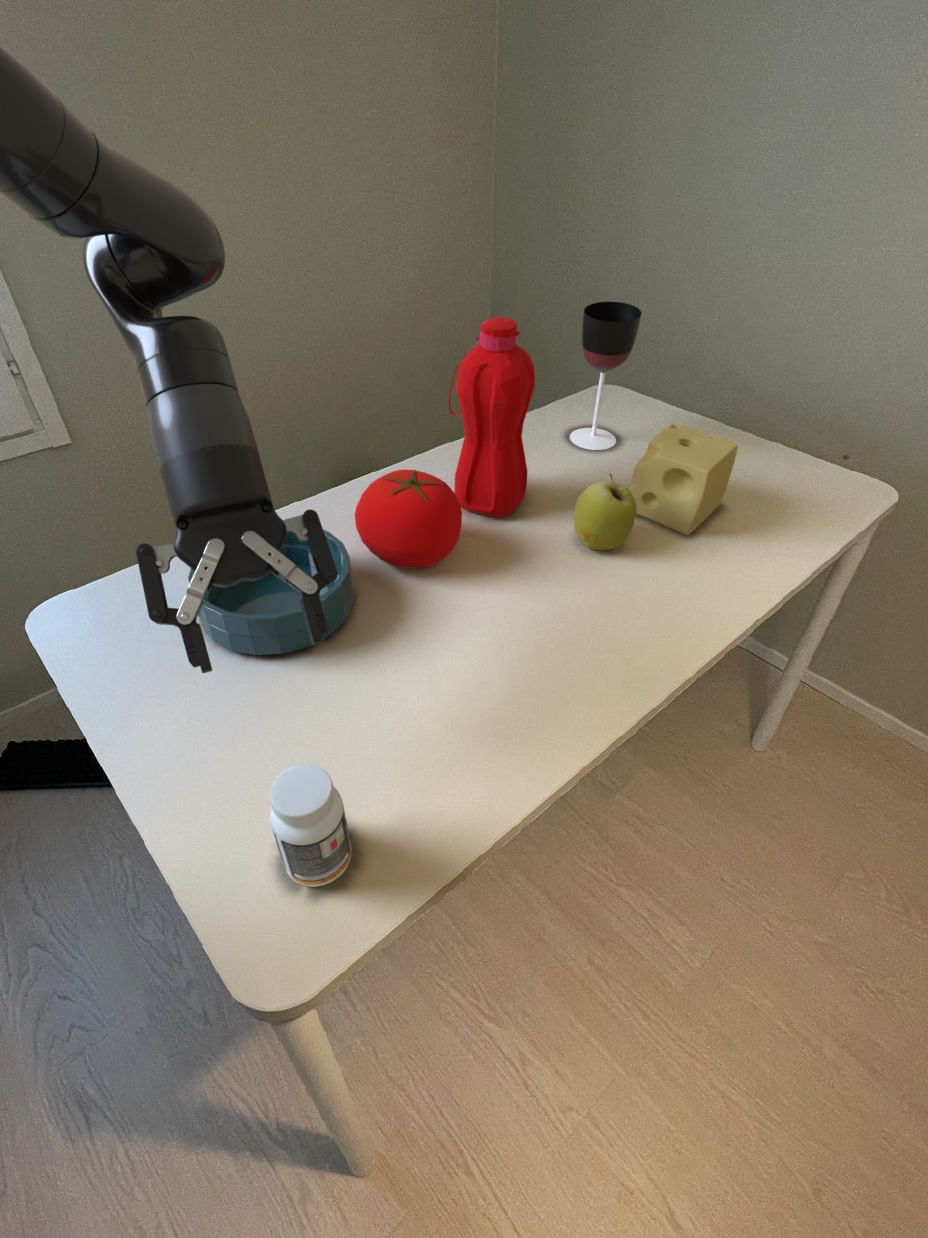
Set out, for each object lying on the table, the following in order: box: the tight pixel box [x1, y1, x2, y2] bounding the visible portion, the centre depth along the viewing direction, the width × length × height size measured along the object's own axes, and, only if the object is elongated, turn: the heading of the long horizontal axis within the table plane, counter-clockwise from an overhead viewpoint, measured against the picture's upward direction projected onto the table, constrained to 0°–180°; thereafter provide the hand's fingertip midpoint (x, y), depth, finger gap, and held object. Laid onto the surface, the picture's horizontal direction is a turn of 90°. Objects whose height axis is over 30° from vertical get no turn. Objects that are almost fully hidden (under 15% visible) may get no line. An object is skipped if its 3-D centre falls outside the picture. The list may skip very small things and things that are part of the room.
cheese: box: [627, 422, 739, 536], centre depth 96 cm, size 10×11×10 cm
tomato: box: [354, 469, 463, 569], centre depth 87 cm, size 12×13×11 cm
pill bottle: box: [269, 763, 353, 888], centre depth 56 cm, size 6×6×10 cm
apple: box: [573, 473, 637, 551], centre depth 90 cm, size 8×8×10 cm
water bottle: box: [448, 316, 536, 518], centre depth 92 cm, size 9×11×25 cm
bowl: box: [187, 529, 354, 656], centre depth 80 cm, size 17×17×6 cm
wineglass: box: [569, 301, 642, 451], centre depth 108 cm, size 8×9×20 cm
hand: (264, 657), depth 55 cm, fingers open, 8 cm apart
